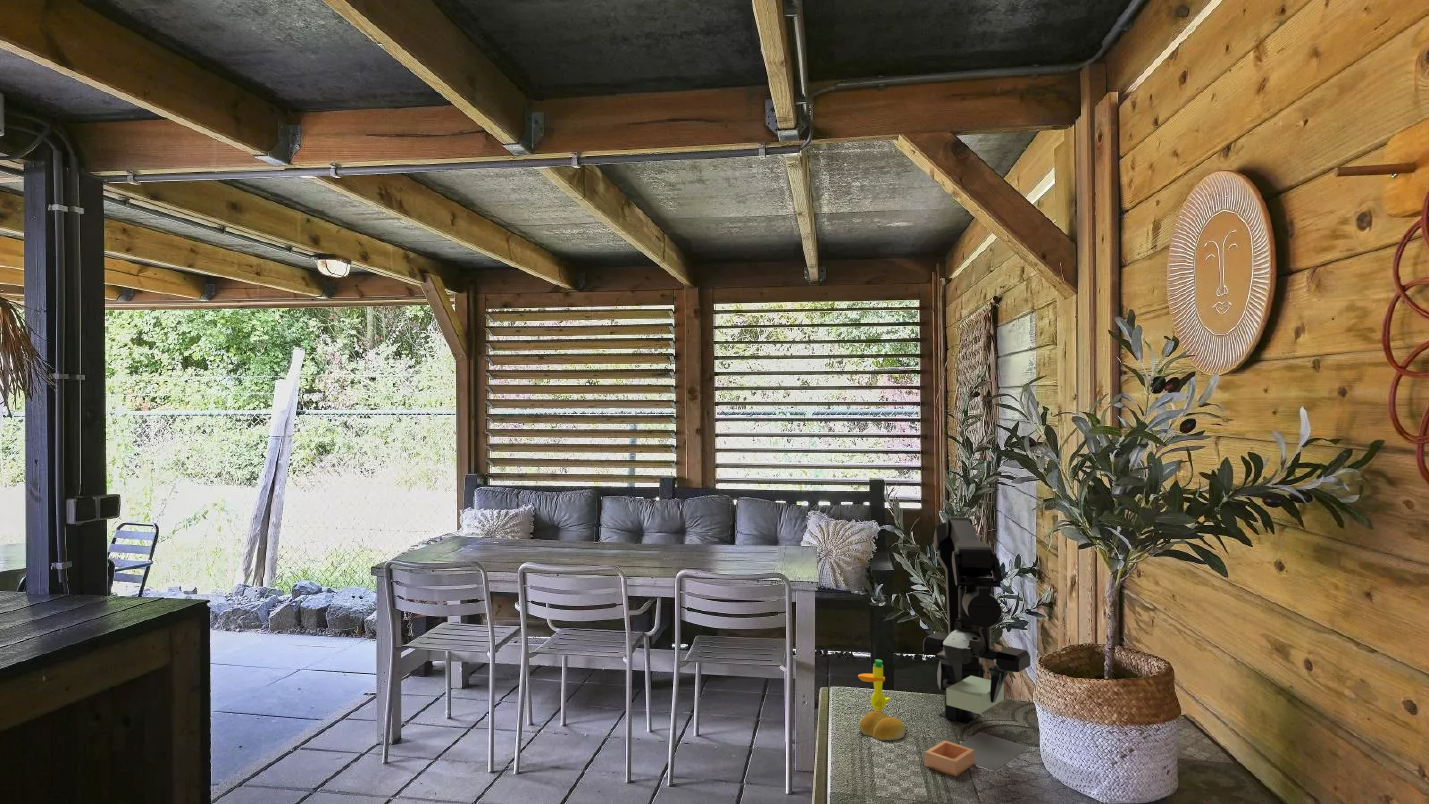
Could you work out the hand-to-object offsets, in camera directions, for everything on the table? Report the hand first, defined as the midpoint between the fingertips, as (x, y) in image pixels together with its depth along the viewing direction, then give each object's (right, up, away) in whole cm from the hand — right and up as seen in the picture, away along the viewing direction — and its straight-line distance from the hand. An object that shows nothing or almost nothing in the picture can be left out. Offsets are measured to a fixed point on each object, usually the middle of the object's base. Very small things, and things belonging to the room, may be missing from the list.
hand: (975, 697), depth 147 cm
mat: (+3, -11, +2) cm, 12 cm away
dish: (-6, -11, -4) cm, 13 cm away
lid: (0, -1, 0) cm, 1 cm away
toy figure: (-15, -12, +20) cm, 27 cm away
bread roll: (-15, -12, +12) cm, 22 cm away
